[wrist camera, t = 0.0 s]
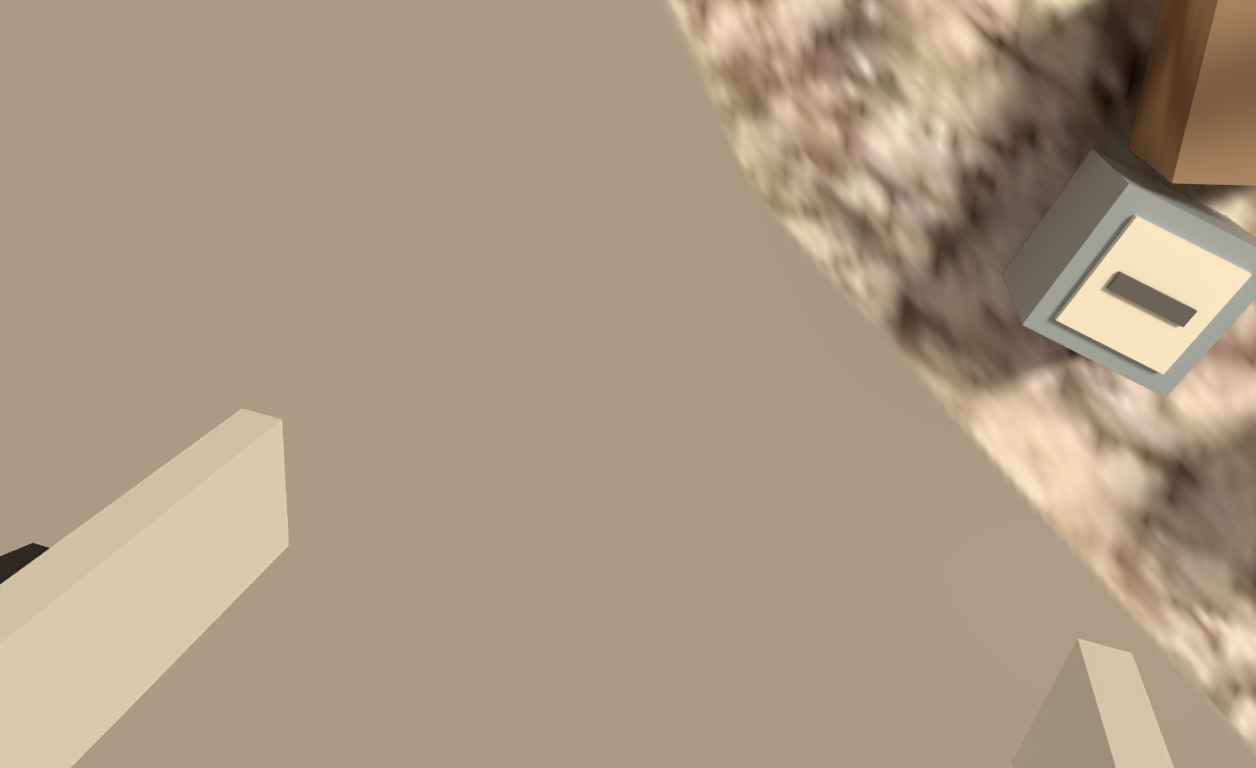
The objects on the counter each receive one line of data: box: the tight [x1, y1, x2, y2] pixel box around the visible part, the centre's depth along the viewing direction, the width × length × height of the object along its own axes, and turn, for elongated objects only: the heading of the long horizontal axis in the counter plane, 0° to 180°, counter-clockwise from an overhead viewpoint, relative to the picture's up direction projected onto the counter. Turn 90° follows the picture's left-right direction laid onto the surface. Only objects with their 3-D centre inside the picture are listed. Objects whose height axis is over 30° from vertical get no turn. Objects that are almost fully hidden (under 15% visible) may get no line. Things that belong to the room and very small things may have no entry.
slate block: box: [1003, 149, 1256, 397], centre depth 34 cm, size 6×6×6 cm
